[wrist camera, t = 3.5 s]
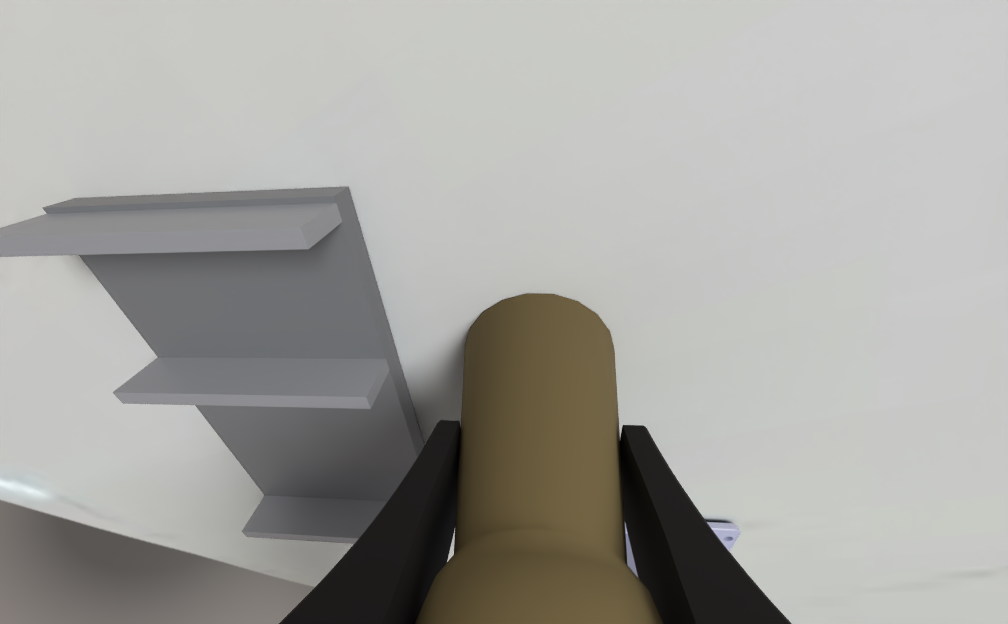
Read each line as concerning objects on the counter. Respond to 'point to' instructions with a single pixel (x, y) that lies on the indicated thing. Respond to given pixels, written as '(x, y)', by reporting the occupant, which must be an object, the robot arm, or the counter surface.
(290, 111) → the counter surface
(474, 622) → the cork
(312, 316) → the rack
